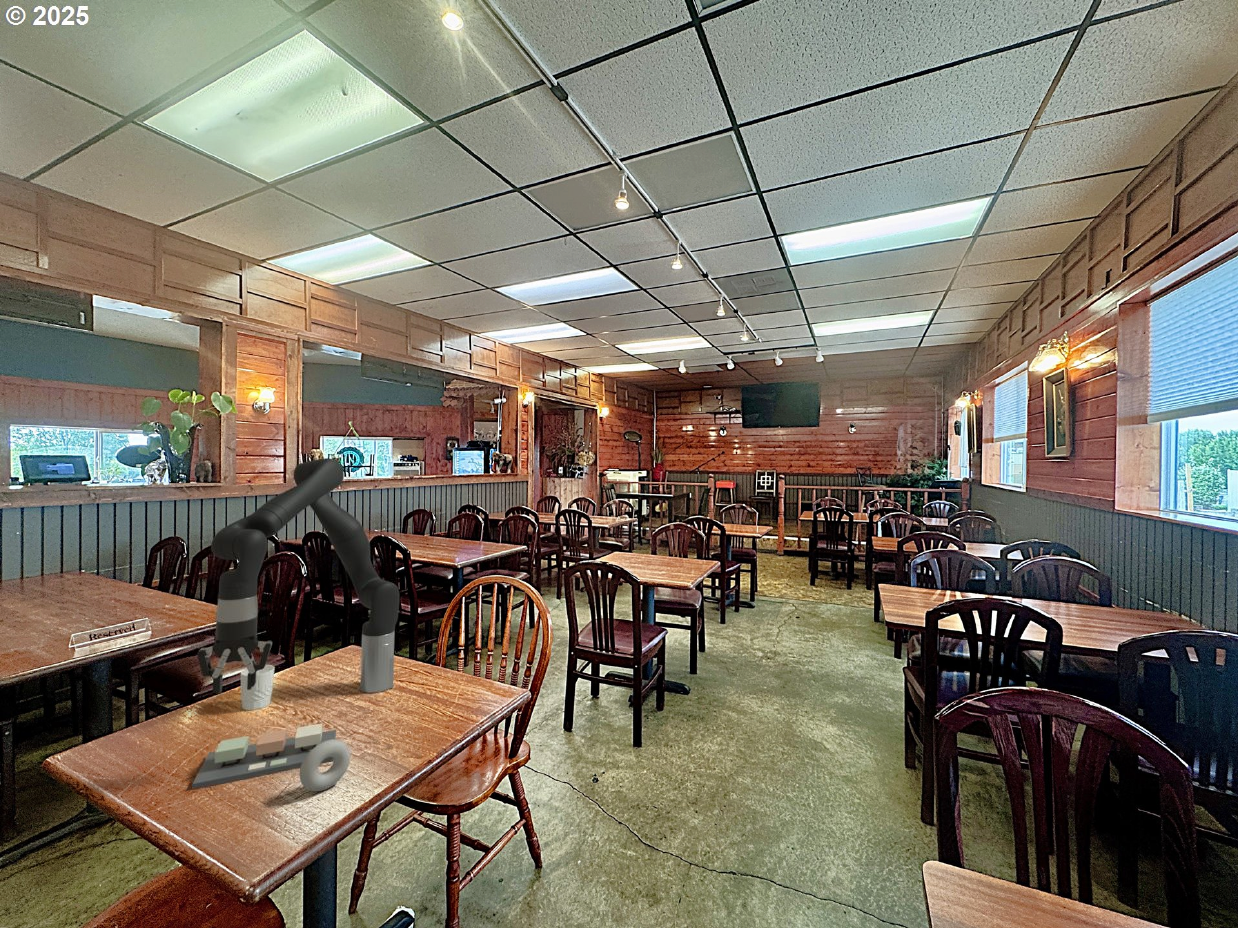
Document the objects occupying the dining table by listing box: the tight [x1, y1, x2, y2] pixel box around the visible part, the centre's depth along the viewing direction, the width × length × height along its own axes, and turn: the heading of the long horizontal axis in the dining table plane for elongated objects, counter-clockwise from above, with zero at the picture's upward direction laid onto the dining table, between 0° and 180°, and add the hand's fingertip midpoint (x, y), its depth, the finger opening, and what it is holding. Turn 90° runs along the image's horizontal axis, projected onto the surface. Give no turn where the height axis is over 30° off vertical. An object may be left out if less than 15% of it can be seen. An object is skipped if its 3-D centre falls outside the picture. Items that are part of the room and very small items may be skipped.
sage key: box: [215, 735, 250, 765], centre depth 115 cm, size 5×5×4 cm
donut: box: [299, 739, 351, 792], centre depth 109 cm, size 10×4×10 cm, turn 141°
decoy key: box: [256, 729, 288, 758], centre depth 119 cm, size 5×5×4 cm
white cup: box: [240, 664, 275, 711], centre depth 145 cm, size 8×8×10 cm
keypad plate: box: [191, 729, 337, 790], centre depth 119 cm, size 26×13×2 cm, turn 117°
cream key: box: [294, 723, 323, 750], centre depth 122 cm, size 5×5×4 cm
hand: (234, 690), depth 115 cm, fingers open, 5 cm apart
